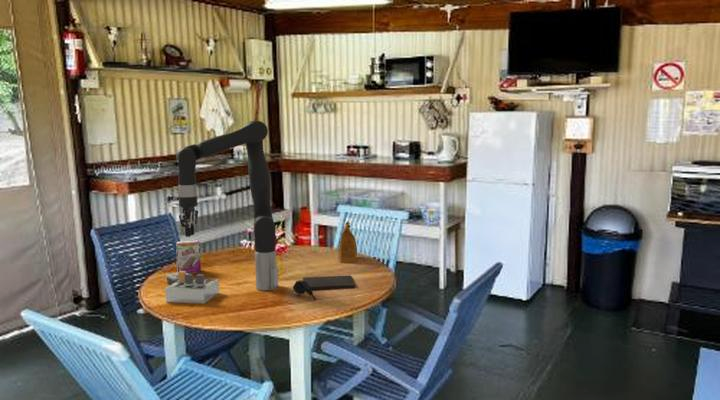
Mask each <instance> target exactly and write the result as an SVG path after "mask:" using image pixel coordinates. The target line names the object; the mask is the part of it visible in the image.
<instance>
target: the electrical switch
mask: <svg viewBox="0 0 720 400" xmlns="http://www.w3.org/2000/svg"><path fill="white" fill-rule="evenodd" d="M186 274H189V273H186ZM164 277H165V278H166V281H167V282H166V283H167V284H170V285H172V284H173V283H175V282H177V281H178V280H179V278H178V272H173V273H169V274H164Z"/></svg>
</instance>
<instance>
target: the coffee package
mask: <svg viewBox="0 0 720 400" xmlns="http://www.w3.org/2000/svg"><path fill="white" fill-rule="evenodd" d="M350 224H351V223H350V222H349V221H346V222H345V224H344V225H345V226H344V227H343V230H342V233H341V237H340V241H339V245H338V254H337V255H338V258H337V260H338V262H339V263H340V264H351V263H356V262H357V256H358V247H357V240H356V237H355V236H354V234H353V232H352V231H351V230H350V228H351V226H352V225H350Z"/></svg>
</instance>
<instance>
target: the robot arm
mask: <svg viewBox="0 0 720 400" xmlns="http://www.w3.org/2000/svg"><path fill="white" fill-rule="evenodd" d="M268 133H269V129H268V126H267V125H266V123H264V122H263V121H260V120H250V121H248V122H246V124H245V125H244V126H243V127H242V128H239V129H238V130H235V131H232V132H229V133H228V132H227V133H225V134H221V135H218V136H214V137H211V138H209V139H208V138H207V139H205V140H203V141H200V142H197V143H194V144H191V145H186V146H184V147H181V148H179V149H177V152H176V153H175V157H176V160H177V161H178V174H177V178H178V180H177V182H178V187H177V188H178V189H177V192H178V193H177V194H178V206H179V208H182V209H181V214H179V215H178V219H179V222H180V224H181V227H182V228H183V229H184V232H185V233H184V234H185V237H186V238H189V237H192V236H194V235H195V226H196V224H197V222H198V216H199V210H196V207H198V205H199V204H198V201H199V200H198V189H197V178H196V177H197V176H196V165H197V162H196V161H197V160H201V159H204V158H209V157H212V156H214V155H218V154H220V153H223V152H226V151H228V150H230V149H233V148H236V147H239V146H242V145H245V146H246V150H247V168H248V170H247V171H248V181H249V182H248V183H249V188H250V193H251V197H252V201H253V213H254V214H253V215H254V216H253V235H254V263H255V266H254V267H255V289H256V290H259V291H271V290H276V289H277V287H278V286H279V276H278V275H279V274H278V273H279V271H278V268H279V267H278V265H277V256H276V255H277V254H276V253H277V251H276V243H277V242H276V241H277V239H276V235H277V234H276V224H275V221H274V218H273V213H272V209H271V208H272V207H271V189H272V187H271V184H272V183H271V173H270V168H269V164H268V161H267V159H266V158H267V157H266V156H265V152H264V140H265V139H266V137H267V136H268Z"/></svg>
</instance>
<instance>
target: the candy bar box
mask: <svg viewBox="0 0 720 400" xmlns="http://www.w3.org/2000/svg"><path fill="white" fill-rule="evenodd" d="M175 245H176V269H177V272H176V273H178V272H179V271H186V273H189V274H199V273H202V268H201V267H202V266H201V245H200V240H199V239H198V240H197V239H196V240H184V241H176V243H175ZM198 272H199V273H198Z"/></svg>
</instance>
